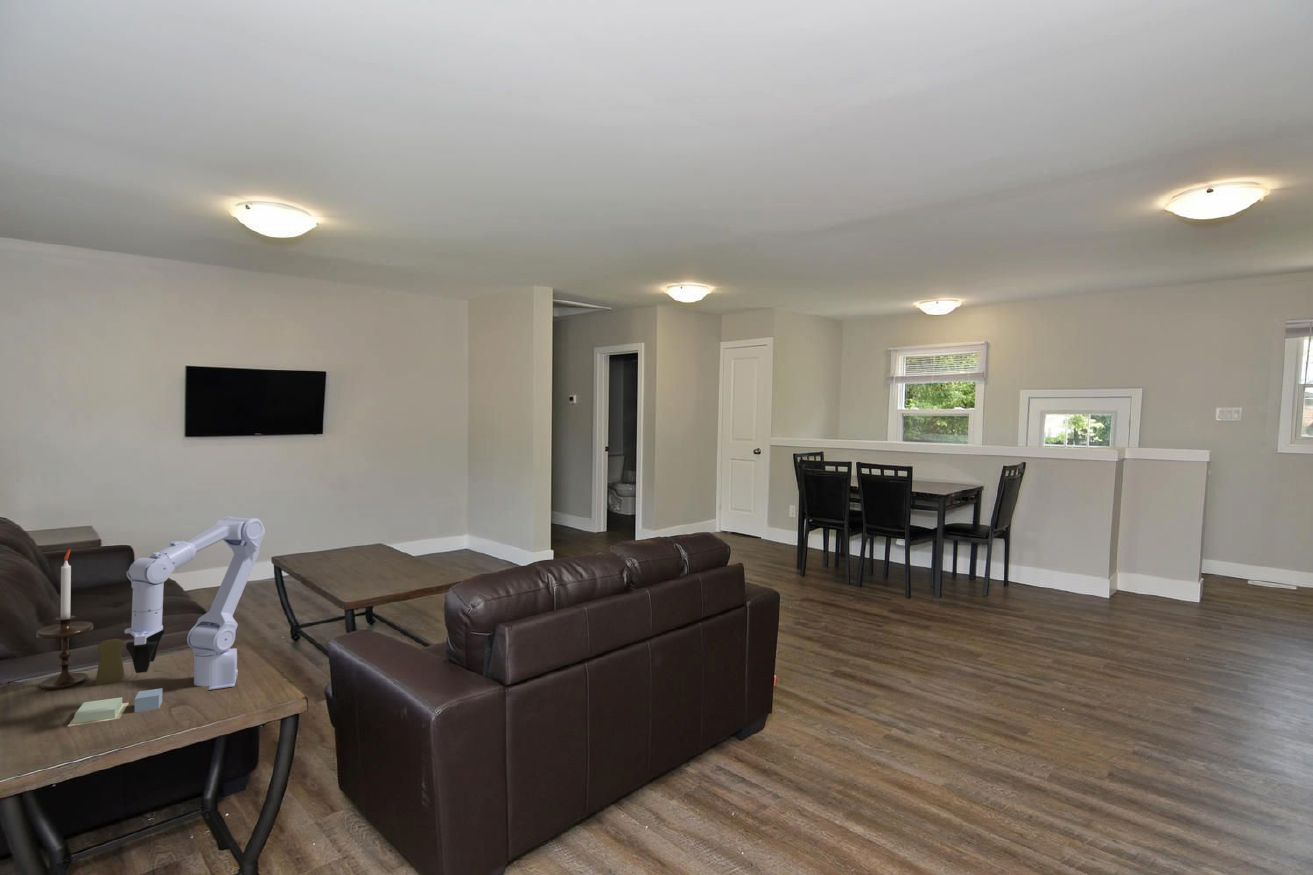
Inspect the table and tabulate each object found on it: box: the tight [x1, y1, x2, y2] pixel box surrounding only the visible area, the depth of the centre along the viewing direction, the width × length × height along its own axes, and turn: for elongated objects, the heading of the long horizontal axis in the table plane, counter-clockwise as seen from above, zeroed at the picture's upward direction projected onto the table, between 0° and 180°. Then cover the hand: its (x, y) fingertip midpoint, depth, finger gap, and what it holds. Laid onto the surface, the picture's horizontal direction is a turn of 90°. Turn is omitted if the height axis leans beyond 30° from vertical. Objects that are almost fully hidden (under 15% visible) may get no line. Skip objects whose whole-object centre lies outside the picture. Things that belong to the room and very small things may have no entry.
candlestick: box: [35, 548, 94, 691], centre depth 167 cm, size 11×11×35 cm
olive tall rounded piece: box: [94, 638, 126, 687], centre depth 168 cm, size 6×6×11 cm
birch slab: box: [67, 702, 129, 727], centre depth 148 cm, size 9×9×2 cm
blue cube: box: [134, 687, 163, 713], centre depth 153 cm, size 4×4×4 cm
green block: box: [73, 696, 123, 724], centre depth 148 cm, size 7×7×2 cm
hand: (145, 666), depth 152 cm, fingers open, 7 cm apart
